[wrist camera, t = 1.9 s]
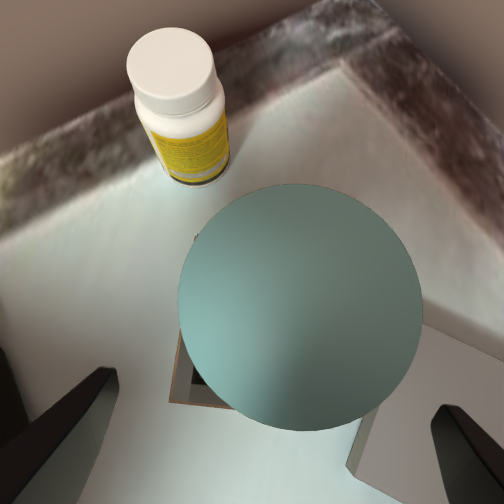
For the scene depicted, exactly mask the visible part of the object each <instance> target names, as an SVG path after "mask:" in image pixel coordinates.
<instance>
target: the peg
mask: <svg viewBox="0 0 504 504" xmlns="http://www.w3.org/2000/svg"><path fill="white" fill-rule="evenodd" d="M178 314H179V323H180V328H181V332H182V337H183V340H184V343H185V346H186V348H187V351H188V354H189V356H190V358H191V360H192V362H193V364H194V365H195V367H196V369H197V371H198V372H199V374H200V375H201V376H202V378H203V379H204V381H205V382H206V383H207V385H208V386H209V387H210V388H211V389H212V390H213V391H214V392H215V393H216V394H217V395H218V396H219V397H220V398H221V399H222V400H223V401H225V402H226V403H227V404H228V405H230V406H231V407H232V408H234V409H235V410H237V411H238V412H240V413H242V414H243V415H245V416H247V417H249V418H251V419H253V420H255V421H258V422H260V423H262V424H265V425H269V426H272V427H276V428H280V429H286V430H294V431H317V430H324V429H330V428H334V427H338V426H341V425H344V424H347V423H350V422H352V421H354V420H356V419H358V418H360V417H362V416H364V415H366V414H367V413H369V412H370V411H372V410H373V409H375V408H376V407H377V406H379V405H380V404H381V403H382V402H383V401H384V400H385V399H386V398H388V397H389V396H390V395H391V394H392V393H393V391H394V390H395V389H396V388H397V386H398V385H399V384H400V383H401V381H402V380H403V378H404V376H405V375H406V373H407V371H408V370H409V368H410V366H411V364H412V361H413V359H414V356H415V354H416V352H417V348H418V344H419V340H420V337H421V330H422V322H423V302H422V295H421V288H420V284H419V280H418V276H417V273H416V270H415V267H414V265H413V263H412V260H411V258H410V256H409V254H408V252H407V250H406V249H405V247H404V245H403V243H402V242H401V240H400V239H399V238H398V236H397V235H396V234H395V232H394V231H393V230H392V229H391V228H390V227H389V225H388V224H387V223H386V222H385V221H384V220H383V219H382V218H381V217H379V216H378V215H377V214H376V213H375V212H374V211H372V210H371V209H370V208H368V207H367V206H365V205H364V204H362V203H361V202H359V201H357V200H355V199H353V198H351V197H350V196H348V195H346V194H343V193H340V192H338V191H335V190H332V189H328V188H324V187H320V186H314V185H306V184H285V185H277V186H271V187H267V188H263V189H259V190H257V191H254V192H252V193H249V194H246V195H244V196H243V197H241V198H239V199H237V200H235V201H233V202H232V203H230V204H229V205H228V206H226V207H225V208H223V209H222V210H221V211H220V212H219V213H218V214H216V215H215V216H214V217H213V218H212V219H211V220H210V221H209V222H208V224H207V225H206V226H205V227H204V228H203V230H202V231H201V232H200V234H199V235H198V237H197V238H196V240H195V241H194V243H193V245H192V247H191V249H190V251H189V253H188V255H187V257H186V260H185V263H184V266H183V269H182V273H181V278H180V283H179V289H178Z"/></svg>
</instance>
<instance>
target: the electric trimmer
mask: <svg viewBox="0 0 504 504" xmlns="http://www.w3.org/2000/svg"><path fill="white" fill-rule="evenodd" d="M29 425H30V423H29V420H28V417H27V414H26V411H25V408H24V405H23V403H22V400H21V397H20V394H19V391H18V388H17V385H16V383H15V380H14V377H13V374H12V372H11V369H10V366H9V364H8V361H7V359H6V356H5V354H4V352H3V350H2V349H1V347H0V449H1V448H3V447H4V446H5V445H6V444H7V443H9V442H10V441H11V440H12V439H13V438H15V437H16V436H17V435H18V434H19V433H21V432H22V431H23V430H24V429H25V428H27V427H28V426H29Z"/></svg>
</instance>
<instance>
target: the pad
mask: <svg viewBox="0 0 504 504" xmlns="http://www.w3.org/2000/svg"><path fill="white" fill-rule="evenodd" d="M442 404H452V405H457V406H459V407H461V408H462V409H463V410H464V411H465V412H466V413H467V414H468V415H469V416H470V417H471V418H472V419H473V420H474V421H475V422H476V423H477V424H478V425H480V426H481V427H482V428H483V429H484V430H485V431H486V432H487V433H488V434H489V435H490V436H491V437H492V438H493V439H494V440H495V441H496V442H497V443H498V444H499V445H500V446H501V447H502V448H503V449H504V362H503V361H501V360H499V359H497V358H495V357H492V356H490V355H488V354H486V353H484V352H482V351H480V350H478V349H476V348H474V347H471V346H469V345H467V344H465V343H463V342H461V341H459V340H457V339H455V338H453V337H450V336H448V335H446V334H444V333H442V332H440V331H438V330H436V329H434V328H432V327H429V326H427V325H425V324H423V323H422V330H421V337H420V340H419V344H418V348H417V352H416V354H415V356H414V359H413V361H412V364H411V366H410V368H409V370H408V371H407V373H406V375H405V376H404V378H403V380H402V381H401V383H400V384H399V385H398V386H397V388H396V389H395V390H394V391H393V393H392V394H391V395H390V396H389V397H388V398H386V399H385V400H384V401H383V402H382V403H381V404H380V405H379V406H377V407H376V408H375V409H373V410H372V411H370V412H369V413H367V414H366V415H364V417H363V420H362V422H361V425H360V428H359V431H358V433H357V436H356V439H355V441H354V444H353V447H352V450H351V452H350V455H349V458H348V461H347V463H346V467H347V469H348V470H349V471H350V473H351V474H352V475H353V476H354V477H355V478H357V479H358V480H360V481H362V482H364V483H366V484H368V485H370V486H372V487H373V488H375V489H377V490H379V491H381V492H383V493H385V494H387V495H388V496H390V497H392V498H394V499H396V500H398V501H400V502H402V503H403V504H449V502H448V499H447V495H446V492H445V489H444V485H443V481H442V477H441V472H440V468H439V464H438V459H437V455H436V451H435V446H434V442H433V438H432V433H431V429H430V423H431V420H432V418H433V417H434V415H435V413H436V412H437V410H438V409H439V407H440V406H441V405H442Z"/></svg>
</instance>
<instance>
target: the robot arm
mask: <svg viewBox="0 0 504 504" xmlns="http://www.w3.org/2000/svg"><path fill="white" fill-rule="evenodd" d="M118 394H119V382H118V376H117V371H116V369H115V368H114V367H106V366H101V367H99V368H97V369H96V370H95V371H94V372H92V373H91V374H90V375H89V376H88V377H86V378H85V379H84V380H83V381H82V382H80V383H79V384H78V385H77V386H76V387H74V388H73V389H72V390H71V391H70V392H68V393H67V394H66V395H65V396H64V397H62V398H61V399H60V400H59V401H58V402H56V403H55V404H54V405H53V406H52V407H50V408H49V409H48V410H47V411H46V412H44V413H43V414H42V415H41V416H40V417H39V418H37V419H36V420H35V421H34V422H33V423H31V424H30V425H29V426H28V427H27V428H25V429H24V430H23V431H22V432H21V433H19V434H18V435H17V436H16V437H15V438H13V439H12V440H11V441H10V442H9V443H7V444H6V445H5V446H4V447H3V448H1V449H0V504H76V503H77V501H78V499H79V497H80V494H81V492H82V490H83V488H84V485H85V483H86V481H87V479H88V477H89V474H90V472H91V470H92V468H93V465H94V463H95V461H96V458H97V456H98V454H99V451H100V448H101V445H102V442H103V439H104V436H105V433H106V430H107V427H108V424H109V421H110V418H111V415H112V412H113V409H114V406H115V403H116V400H117V397H118ZM430 429H431V433H432V438H433V442H434V446H435V451H436V455H437V459H438V464H439V468H440V472H441V477H442V481H443V485H444V489H445V492H446V495H447V499H448V502H449V504H504V449H503V448H502V447H501V446H500V445H499V444H498V443H497V442H496V441H495V440H494V439H493V438H492V437H491V436H490V435H489V434H488V433H487V432H486V431H485V430H484V429H483V428H482V427H481V426H480V425H478V424H477V423H476V422H475V421H474V420H473V419H472V418H471V417H470V416H469V415H468V414H467V413H466V412H465V411H464V410H463V409H462V408H461V407H459V406H457V405H452V404H442V405H441V406H440V407H439V409H438V410H437V412H436V413H435V415H434V417H433V418H432V420H431V423H430Z"/></svg>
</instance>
